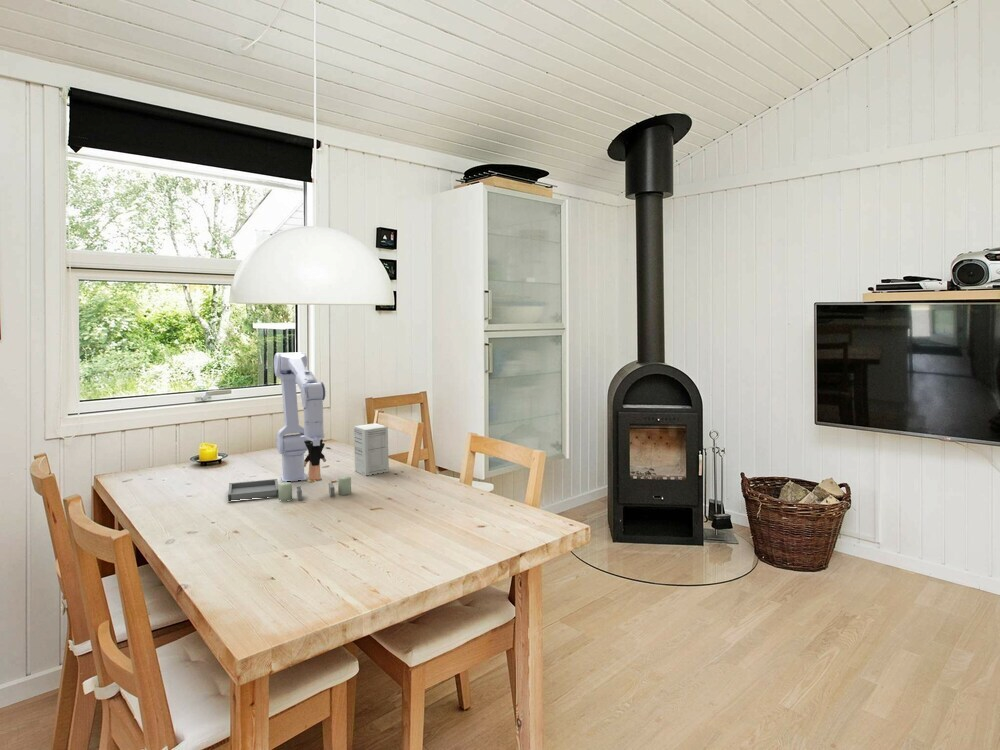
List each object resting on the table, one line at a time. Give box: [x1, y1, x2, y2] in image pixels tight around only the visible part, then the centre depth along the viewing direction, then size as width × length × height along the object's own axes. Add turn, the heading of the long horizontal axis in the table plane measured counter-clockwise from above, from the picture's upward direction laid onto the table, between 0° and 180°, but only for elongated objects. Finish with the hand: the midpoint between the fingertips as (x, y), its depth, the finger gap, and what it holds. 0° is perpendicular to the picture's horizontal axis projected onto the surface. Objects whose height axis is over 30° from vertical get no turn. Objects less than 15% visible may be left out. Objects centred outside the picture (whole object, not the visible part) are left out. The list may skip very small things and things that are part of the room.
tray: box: [227, 478, 279, 502], centre depth 196 cm, size 14×15×2 cm
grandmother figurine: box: [303, 442, 327, 484], centre depth 193 cm, size 8×4×13 cm, turn 145°
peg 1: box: [337, 476, 352, 496], centre depth 197 cm, size 4×4×5 cm
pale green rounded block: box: [278, 481, 293, 502], centre depth 190 cm, size 4×4×5 cm
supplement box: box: [353, 422, 390, 476], centre depth 224 cm, size 10×9×17 cm
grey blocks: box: [296, 482, 336, 501], centre depth 194 cm, size 5×11×3 cm, turn 112°
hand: (314, 464), depth 193 cm, fingers closed on grandmother figurine, 3 cm apart
